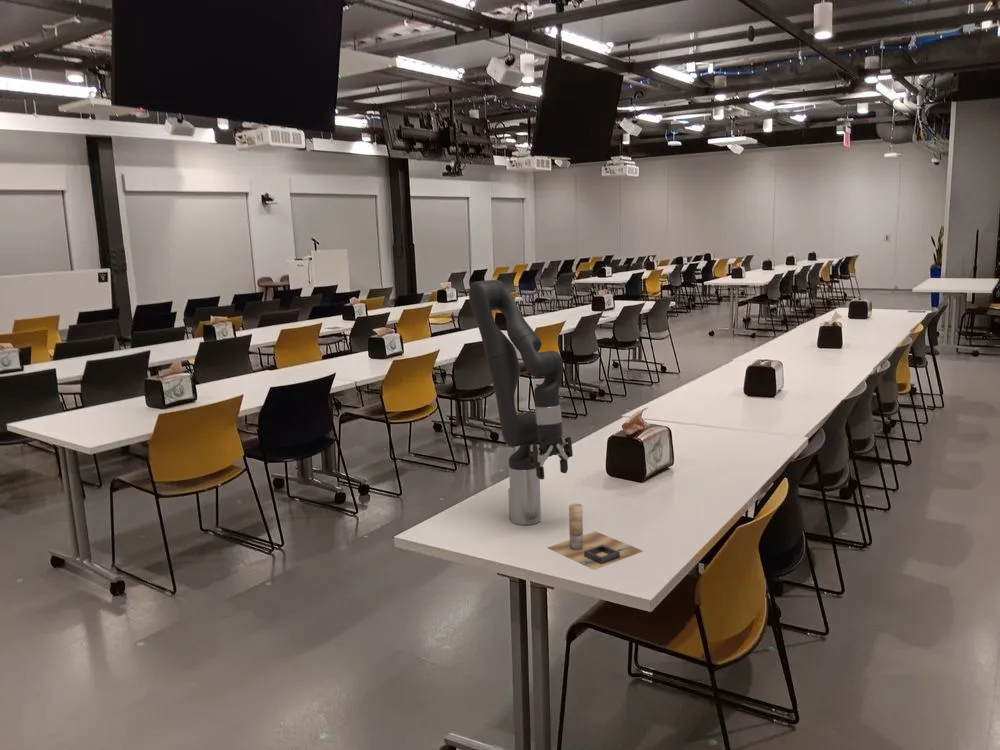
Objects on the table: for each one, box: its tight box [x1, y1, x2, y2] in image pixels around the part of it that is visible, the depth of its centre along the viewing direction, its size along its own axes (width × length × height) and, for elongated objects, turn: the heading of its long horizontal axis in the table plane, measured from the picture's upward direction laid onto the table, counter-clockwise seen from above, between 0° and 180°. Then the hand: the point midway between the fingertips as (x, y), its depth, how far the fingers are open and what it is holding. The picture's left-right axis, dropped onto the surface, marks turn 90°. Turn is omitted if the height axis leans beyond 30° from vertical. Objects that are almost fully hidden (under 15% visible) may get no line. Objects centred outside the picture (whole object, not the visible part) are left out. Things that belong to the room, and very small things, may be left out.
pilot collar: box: [584, 545, 620, 564], centre depth 208 cm, size 7×7×2 cm
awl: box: [568, 503, 584, 550], centre depth 214 cm, size 4×4×12 cm
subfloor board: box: [546, 530, 644, 571], centre depth 213 cm, size 19×18×2 cm
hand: (552, 475), depth 227 cm, fingers open, 8 cm apart
